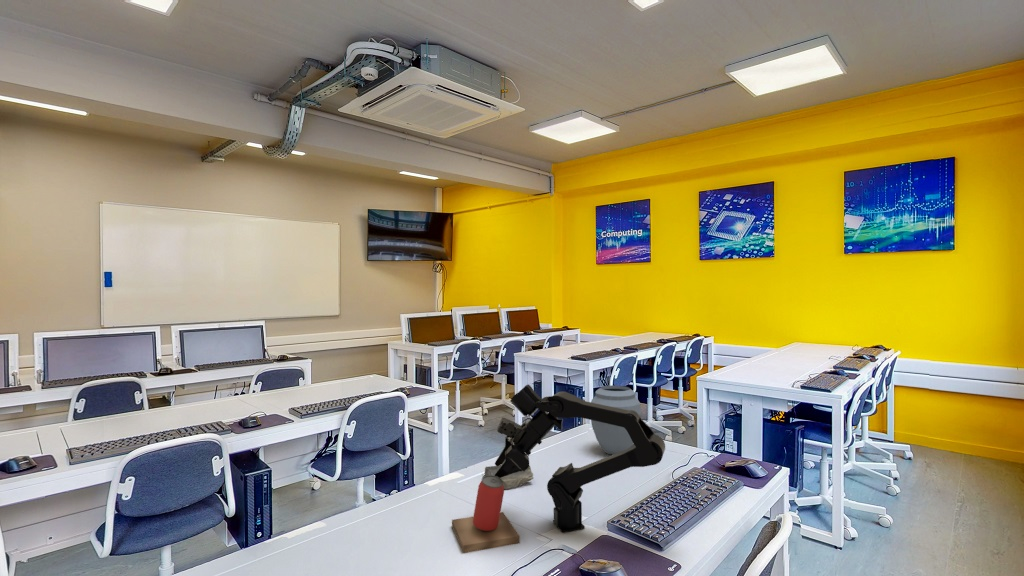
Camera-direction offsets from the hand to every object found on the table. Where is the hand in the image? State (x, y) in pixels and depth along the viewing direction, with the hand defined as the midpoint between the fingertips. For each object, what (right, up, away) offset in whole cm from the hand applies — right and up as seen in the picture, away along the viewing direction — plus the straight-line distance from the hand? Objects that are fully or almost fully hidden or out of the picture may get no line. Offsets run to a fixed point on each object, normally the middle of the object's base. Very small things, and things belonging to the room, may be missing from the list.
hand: (495, 471), depth 133 cm
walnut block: (-2, -14, -7) cm, 16 cm away
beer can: (-2, -11, -6) cm, 13 cm away
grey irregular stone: (+4, -14, +29) cm, 33 cm away
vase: (+44, -14, +56) cm, 72 cm away
